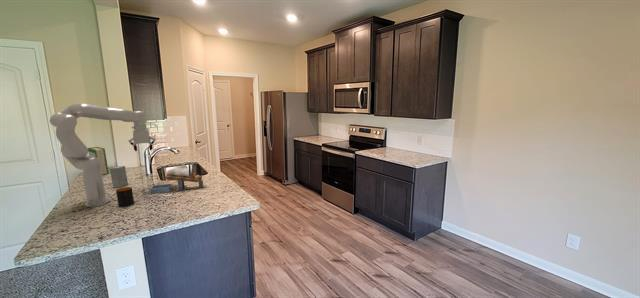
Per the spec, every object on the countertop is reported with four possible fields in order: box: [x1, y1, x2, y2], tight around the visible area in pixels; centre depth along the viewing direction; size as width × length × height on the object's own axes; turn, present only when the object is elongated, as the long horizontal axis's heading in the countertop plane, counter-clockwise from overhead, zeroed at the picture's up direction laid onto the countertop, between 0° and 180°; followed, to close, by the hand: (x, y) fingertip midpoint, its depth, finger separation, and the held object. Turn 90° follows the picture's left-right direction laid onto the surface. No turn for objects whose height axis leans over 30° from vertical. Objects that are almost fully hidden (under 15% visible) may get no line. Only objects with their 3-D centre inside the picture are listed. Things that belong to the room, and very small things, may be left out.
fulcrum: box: [175, 180, 189, 193], centre depth 202 cm, size 6×12×8 cm, turn 17°
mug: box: [115, 186, 135, 208], centre depth 172 cm, size 8×12×10 cm
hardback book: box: [87, 146, 110, 176], centre depth 248 cm, size 18×7×24 cm, turn 55°
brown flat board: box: [164, 171, 203, 184], centre depth 206 cm, size 24×17×4 cm
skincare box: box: [109, 165, 129, 189], centre depth 210 cm, size 8×7×16 cm
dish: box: [149, 183, 173, 195], centre depth 198 cm, size 9×13×4 cm
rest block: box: [198, 180, 204, 189], centre depth 206 cm, size 5×2×4 cm, turn 17°
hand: (143, 150), depth 203 cm, fingers open, 9 cm apart
